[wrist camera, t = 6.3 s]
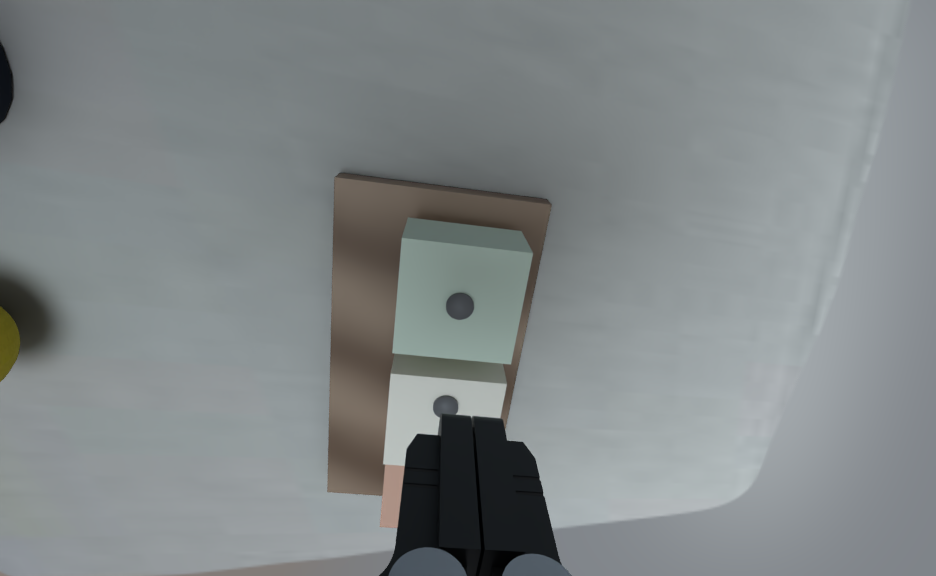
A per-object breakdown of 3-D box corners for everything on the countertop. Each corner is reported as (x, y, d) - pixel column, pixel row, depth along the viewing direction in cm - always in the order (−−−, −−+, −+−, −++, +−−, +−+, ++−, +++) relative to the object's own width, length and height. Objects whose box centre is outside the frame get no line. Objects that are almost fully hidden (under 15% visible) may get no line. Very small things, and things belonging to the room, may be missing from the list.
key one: (408, 217, 20) (401, 239, 17) (521, 231, 20) (533, 255, 17) (399, 320, 22) (391, 355, 19) (503, 330, 22) (511, 366, 19)
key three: (392, 417, 26) (385, 458, 23) (480, 424, 26) (484, 466, 24) (386, 483, 28) (379, 530, 25) (468, 489, 28) (470, 535, 25)
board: (340, 172, 22) (334, 177, 21) (546, 199, 23) (551, 204, 22) (331, 476, 29) (327, 492, 28) (488, 487, 30) (489, 502, 29)
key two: (397, 338, 22) (390, 376, 19) (499, 348, 23) (507, 386, 20) (390, 421, 24) (382, 467, 21) (484, 429, 25) (489, 475, 22)
